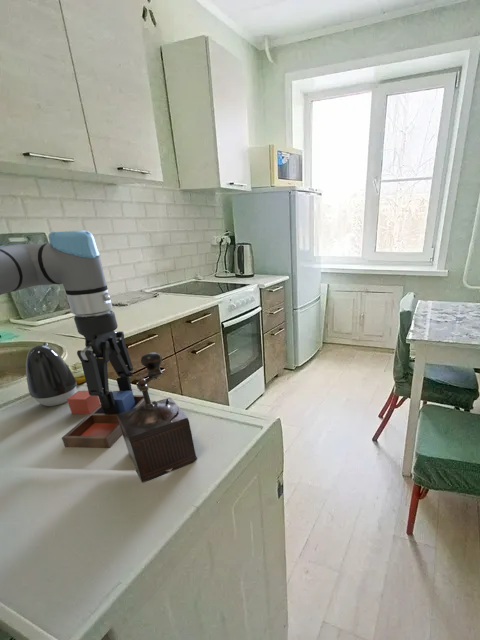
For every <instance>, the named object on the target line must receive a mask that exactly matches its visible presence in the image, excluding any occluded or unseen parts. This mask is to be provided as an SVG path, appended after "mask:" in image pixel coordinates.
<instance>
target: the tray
mask: <svg viewBox="0 0 480 640" xmlns="http://www.w3.org/2000/svg"><path fill="white" fill-rule="evenodd" d="M133 396H134V400H135V404H136V406H135V407H134V408H138V407H140V406H142V405H144V404H145V400H144V397H143V394H133ZM134 408H133V409H134ZM122 436H123V434H122V431H121V428H120V424H119V421H118V418H117V414H105V413H104V410H103V408H102V407H101V404H100V406H98V407H97V408H96V409H95V410H94V411H93V412H91V413H90V414H87V415H86V417H84V418H83V419H82V420H81V421H79V423H77V424H76V425H75V426H74V427H73V428H71V429H70V430H69V431H68V432H66V434H64V435H62V437H61V440H62V442H63V445H64V447H65V448H77V449H78V448H81V449H83V448H84V449H87V448H89V449H111V448H112V447H113V445H114V444H115V443H116V442H117V441H118V440H119V439H120V438H121V437H122Z"/></svg>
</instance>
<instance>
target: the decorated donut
mask: <svg viewBox="0 0 480 640" xmlns="http://www.w3.org/2000/svg"><path fill="white" fill-rule="evenodd" d="M67 365H68V367H69V368H70V370H71V372H72V374H73V375H74V377H75V379H76V382H77V385H79V384H82V383H86V379H85V375H84V371H83V367H82V363H81V361H78V362H74V363H68V364H67Z"/></svg>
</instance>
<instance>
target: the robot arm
mask: <svg viewBox="0 0 480 640" xmlns="http://www.w3.org/2000/svg"><path fill="white" fill-rule="evenodd" d="M47 285H62V286H63V288H64V291H65V295H66V298H67V302H68V305H69V308H70V312H71V314H73V315H74V317H73V320H74V323H75V327H76V330H77V333H78V334H80V335H81V336H83V337H84V342H85V343H84V345H85V347H84V348H83V349H81V350H77V351H76V355H77V358H78V359H79V360H80V361H79V362H81V363H82V367H83V371H84V375H85V379H86V381H85V383H86V388H87V391H88V392H89V395H90V396H98V398H99V401H100V405H101V407H102V408H103V410H104V413H105V414H118V411H117V407H116V404H115V400H114V397H113V393H112V392H113V391H110V387H109V370H108V363H109V362H110V365H111V366H112V369H113V370H114V372H115V373H116V375H117V378H115V380H116V383H117V386H118V391H132V393H133V394H134V391H133V388H132V384H131V379H130V378H131V377H133V376H134V372H133V371H134V367H133V362H132V360H131V356H130V353H129V351H128V348H127V343H126V341H125V333H124V331H116V330H118V322H117V318H116V314H115V312H114V311H113V310H112V309H113V303H112V300H111V299H112V298H111V296H110V293H109V288H108V285H107V281H106V277H105V272H104V268H103V264H102V259H101V253H100V252H99V249H98V246H97V243H96V240H95V237H94V235H93V233H92V232H91V231H89V230H85V229H83V230H82V229H81V230H63V231H51V232H49V233H48V242H47V243H26V244H25V243H23V244H16V243H11V244H10V243H9V244H3V245H0V296H1V295H5V294H9V293H11V292H12V293H13V292H16V291H20V290H23V289H27V288H32V287H36V286H47ZM133 397H134V396H133Z"/></svg>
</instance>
